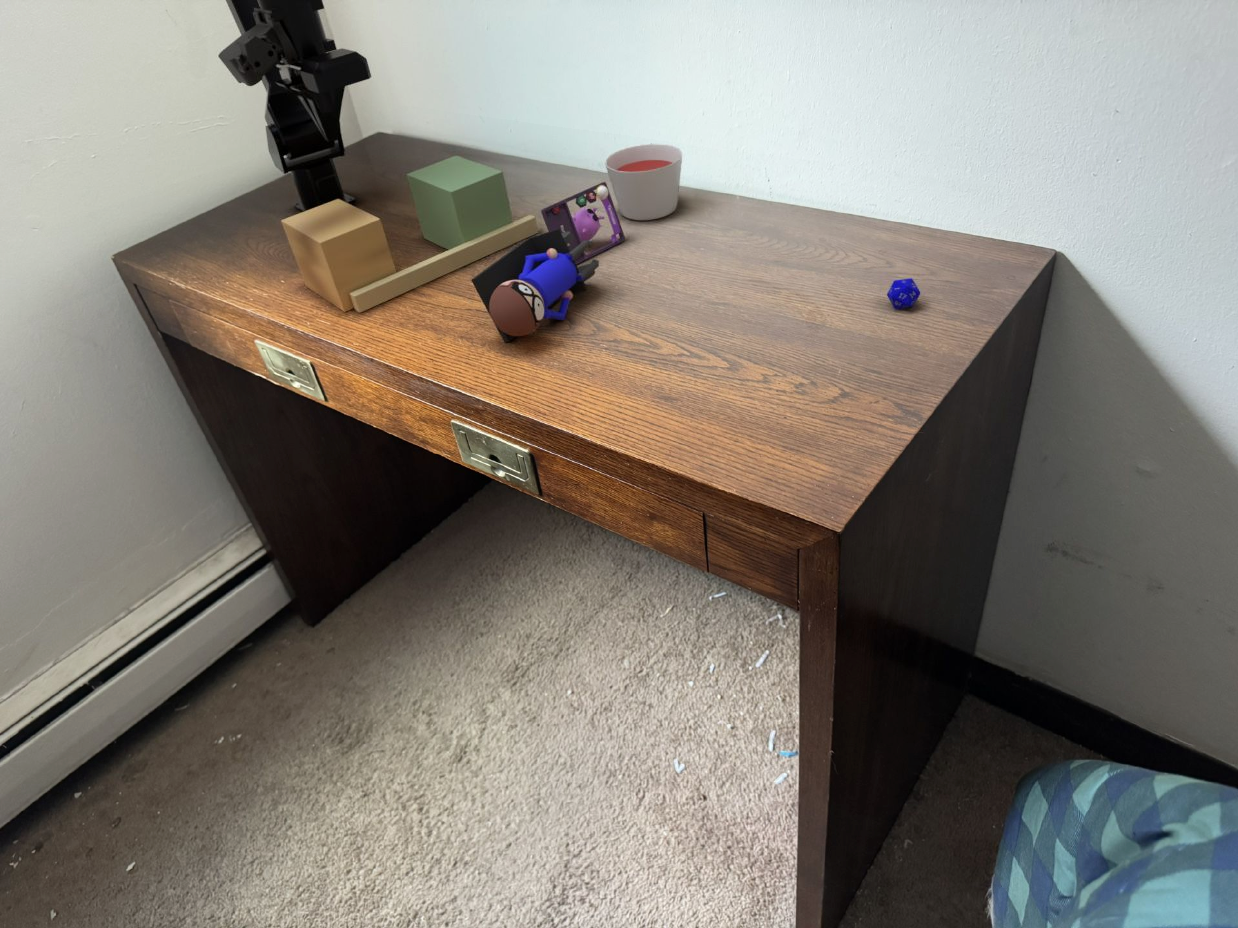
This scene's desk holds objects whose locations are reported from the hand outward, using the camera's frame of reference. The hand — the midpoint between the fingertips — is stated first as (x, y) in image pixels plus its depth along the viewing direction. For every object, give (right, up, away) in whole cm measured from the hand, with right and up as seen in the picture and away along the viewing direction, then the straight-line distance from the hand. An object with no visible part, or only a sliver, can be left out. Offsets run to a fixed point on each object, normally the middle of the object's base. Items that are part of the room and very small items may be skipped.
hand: (331, 141), depth 101 cm
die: (+60, -23, -21) cm, 68 cm away
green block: (+16, -11, +3) cm, 19 cm away
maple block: (+4, -18, -4) cm, 19 cm away
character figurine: (+26, -23, -15) cm, 38 cm away
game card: (+29, -14, -3) cm, 33 cm away
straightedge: (+15, -16, -3) cm, 22 cm away
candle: (+37, -7, +3) cm, 38 cm away
